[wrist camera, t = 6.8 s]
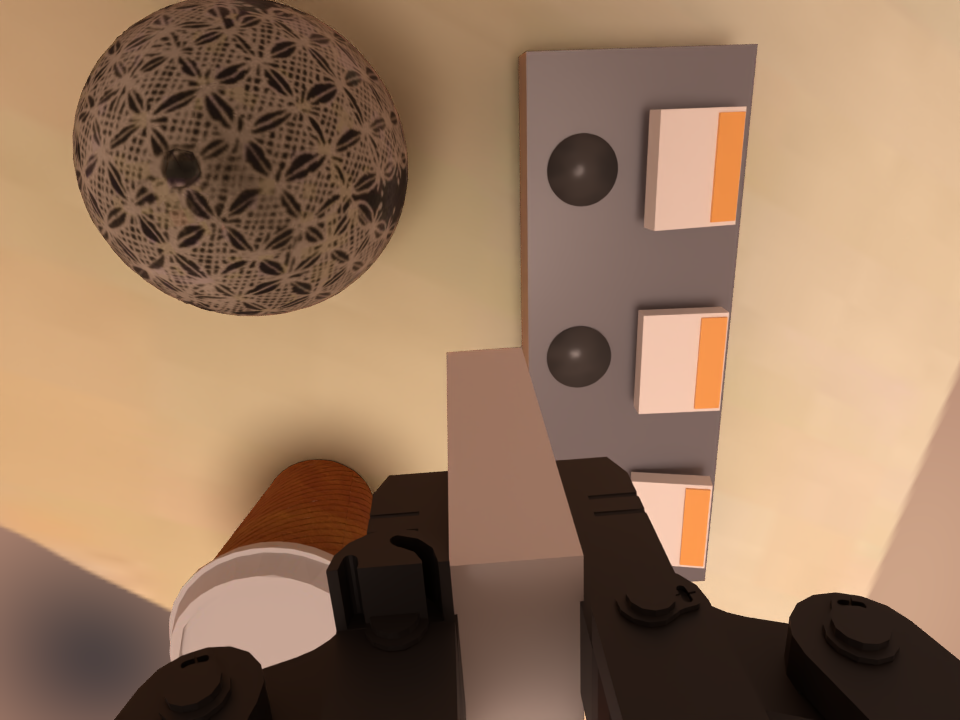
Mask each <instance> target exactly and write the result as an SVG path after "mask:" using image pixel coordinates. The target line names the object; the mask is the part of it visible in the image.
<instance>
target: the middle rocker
mask: <svg viewBox="0 0 960 720" xmlns="http://www.w3.org/2000/svg"><path fill="white" fill-rule="evenodd" d="M728 320H729V312H728V311H727V310H725V309H724V308H723V307H701V308H676V309H652V310H638V328H637V348H636V368H635V388H634V407H635V409H636V411H637V412H638V414H652V413H675V412H698V411H720V402H721V392H722V382H723V371H724V361H725V351H726V341H727V330H728Z"/></svg>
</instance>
